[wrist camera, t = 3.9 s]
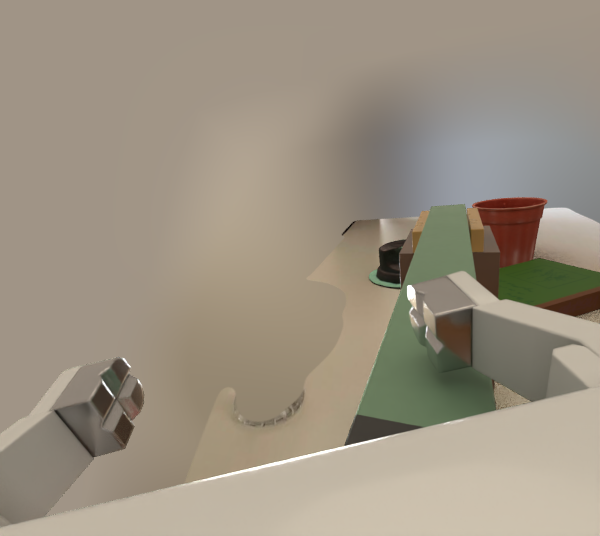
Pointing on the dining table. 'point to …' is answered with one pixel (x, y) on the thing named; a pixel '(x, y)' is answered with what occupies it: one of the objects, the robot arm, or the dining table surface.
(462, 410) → the slide bar
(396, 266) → the chocolate cake
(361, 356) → the dining table surface
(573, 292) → the hardcover book
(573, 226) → the dining table surface
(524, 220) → the flower pot
